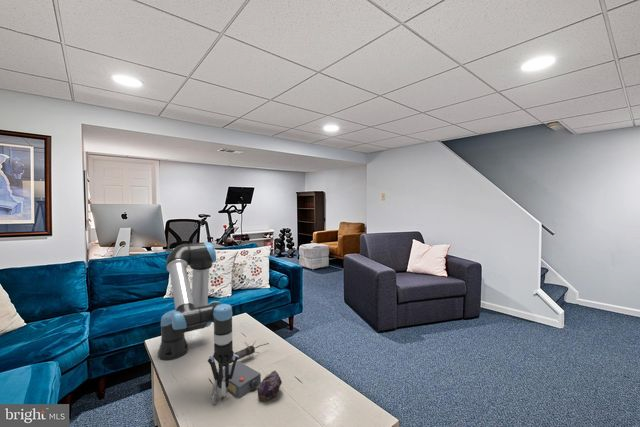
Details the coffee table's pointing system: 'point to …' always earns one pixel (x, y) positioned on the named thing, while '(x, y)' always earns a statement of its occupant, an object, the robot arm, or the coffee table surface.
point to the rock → (269, 386)
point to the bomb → (244, 353)
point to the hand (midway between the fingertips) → (224, 394)
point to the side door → (215, 392)
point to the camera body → (242, 379)
